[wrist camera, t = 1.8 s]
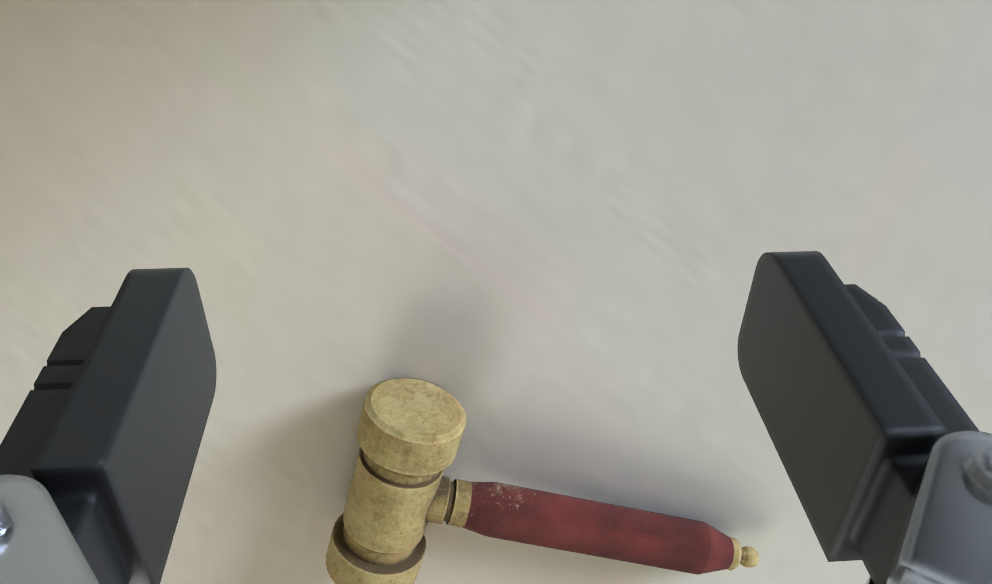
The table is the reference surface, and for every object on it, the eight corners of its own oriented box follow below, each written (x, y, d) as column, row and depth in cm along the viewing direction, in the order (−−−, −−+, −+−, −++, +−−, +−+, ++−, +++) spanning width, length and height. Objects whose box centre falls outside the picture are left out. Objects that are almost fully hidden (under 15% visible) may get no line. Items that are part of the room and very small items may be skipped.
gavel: (819, 518, 37) (731, 662, 41) (784, 453, 41) (707, 590, 45) (359, 428, 33) (318, 595, 38) (371, 366, 37) (332, 524, 42)
